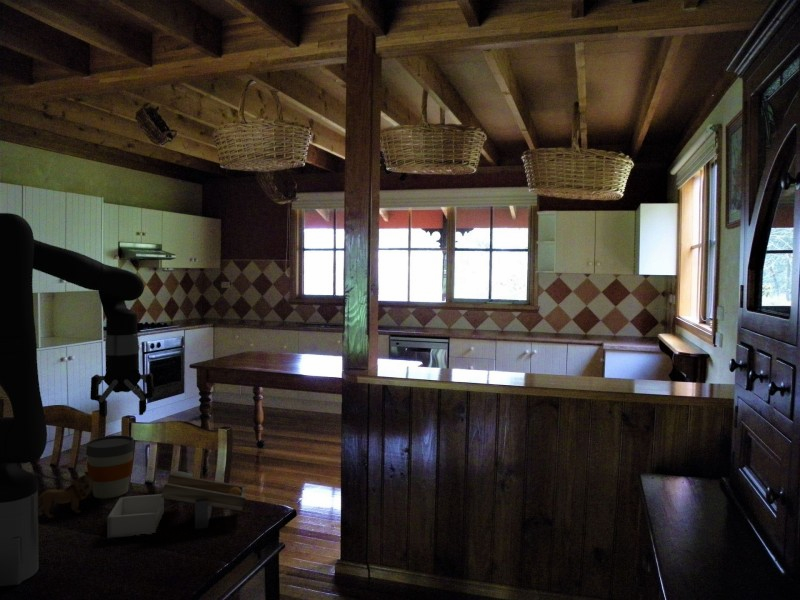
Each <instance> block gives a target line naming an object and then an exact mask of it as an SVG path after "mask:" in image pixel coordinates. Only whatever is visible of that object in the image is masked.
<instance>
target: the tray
mask: <svg viewBox="0 0 800 600" xmlns="http://www.w3.org/2000/svg"><path fill="white" fill-rule="evenodd" d="M161 496H162V493H160V494H159V493H158V494H147V495H144V494H143V495H134V496H133V495H131V496H119V499H118V500H117V502H116V504H115V505H114V507H113V508H112V510H111V511H110V513H109V515H108V516H107V519H106V520H107V521H106V523H107V531H106V532H107V537H106V538H107V539H110V538H111V539H113V538H122V537H123V538H124V537H125V538H126V537H132V536H133V537H134V535H136V536H141V535H140V534H147V535H153V534H152V533H155V534H156V532H157V530H156V529H158V528H157V527H159V525H160V523H159V522H161V521H162V518H163V516H162V515H164V513H165V498H161ZM160 520H161V521H160ZM158 524H159V525H158Z"/></svg>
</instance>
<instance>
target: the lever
mask: <svg viewBox="0 0 800 600" xmlns="http://www.w3.org/2000/svg"><path fill="white" fill-rule="evenodd" d="M233 487H238V488H240V490H241V496H240V495H234V494H229V491H230V489H231V488H233ZM162 490H163V491H162V492H161V494H162V496H161V498H164V499H166V500H173V501H181V502H186V503H192V504H195V500H203V499H208V505H209V506H212V507H216V508H222V509H227V510H234V511H235V510H236V511H240V512H242V511H243V507H244V504H245V502H246V501H245V500H246V493H247V492H246V491H247V486H246V485H240V484H233V483H228V482H222V481H217V480H212V479H211V480H210V479H205V478H199V477H194V473H190V472H185V471H178V470H174V472H173V473H171V472H170V473H169V475H168V478H167V482H165V483H164V485H163V489H162Z"/></svg>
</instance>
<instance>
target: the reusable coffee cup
mask: <svg viewBox="0 0 800 600" xmlns="http://www.w3.org/2000/svg"><path fill="white" fill-rule="evenodd" d="M135 448H136V447H135V439H134V437H133V436H130V435H108V436H101V437H97V438H94V439H91V440H89V441H88V442H87V444H86V451H85V455H86V456H87V461H88V462H86V467H87V473H88V474H87V475H90V476H92V477H93V488H92V496H93V497H94V498H96V499H111V498H112V499H113V498H116V497H121V496H123V495H124V494H126V493H128V491H129V485H130V484H129V483H130V478H131V475H132V474H133V467H134V466H133V465H134V455H133V454H134V450H135Z"/></svg>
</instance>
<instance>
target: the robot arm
mask: <svg viewBox="0 0 800 600" xmlns="http://www.w3.org/2000/svg"><path fill="white" fill-rule="evenodd" d="M34 270H36V271H39V272H40V273H45V274H47V275H49V276H52V277H55V278H57V279H60V280H62V281H65V282H68V283H70V284H73V285H76V286H78V287H80V288H81V287H82V288H84V289H87V290H90V291H98V296H99V299H100V304H101V306H102V311H103V312H104V315H105V321H106V322H105V326H106V327H105V331H106V335H105V344H104V347H105V348H104V349H105V351H104V352H105V353H104V354H105V375H99V374H95V375H93V376H91V378H90V379H91V380H90V398H89V399H90V400H92V401H97V402H98V413H99V415H101V417H103V418H105V417H107V416H108V400H107V398H109V396H110V395H111V394H112V392H114V394H115V393H117V394H118V393H121V392H122V393H129V392H132V393H133V395H135V396H136V397H138V399H139V400H138V415H139V416H143V415H144V414H145V413H146V411H147V400H148V399H151V398H152V397H153V396H155V385H154V384H155V383H154V374H153V373H152V372H149V373H147V374H146V373H145V374H141V373H140V353H139V352H140V343H139V336H138V315H137V313H136V312H135V311H133V310H131V309H130V308H128V307H127V304H126V302H131V301H132V302H133V301H135V300H138V299H139V298H140V297H142V295H143V293H144V292H145V291H144V290H145V284H144V281H143V279H142V278H141V277H140V276H139V275H137V274H136V273H134V272H132V271H129V270H126V269H123V268H119V267H116V266H112V265H108V264H105V263H103V262H101V261H100V260H96V259H95V258H92V257H90V256H88V255H85V254H83V253H80V252H77V251H74V250H71V249H67V248H63V247H60V246H56V245H52V244H49V243H46V242H43V241H40V240H37V239H34V232H33V229H32V227H31V225H30V224H29V222H28V221H27V220H26V219H25V218H24V217H22V216H20V215H19V214H16V213H11V212H10V213H9V212H0V387H1V388H2V390H3V392H4V393H5V394H6V396H7V397H8V400H9V402H10V405H11V410H12V414H13V417H12V416H11V417H10V416H7V417H6V416H4V417H2V416H0V587H8V586H17V585H21V584H22V582H24V581H26V580H28V579H30V578H32V577H33V576H35V574H36V573H38V571H39V568H40V567H39V565H40V564H39V515H38V506H39V505H38V498H39V481H38V477H37V476H36V475H34V474H33V473H31V472H29V471H28V470H27V471H26V470H24V469H22V468H21V467H20V466H19V465H18V464H29V463H34V462H36V461H38V460H39V459H40V458H41V457H42V456H43V454H44V453H45V450H46V446H47V441H48V429H47V428H48V427H47V422H46V416H45V412H44V405H43V401H42V395H41V394H42V393H41V388H40V380H39V379H40V378H39V369H38V368H39V367H38V348H37V347H38V346H37V345H38V344H37V334H36V333H37V332H36V330H37V329H36V324H35V322H36V321H35V311H34V292H33V291H34V290H33V271H34ZM141 380H142V381H143V383H145V384H146V392H144V390H143V389H142V387H141V386H140V385H139V382H140V381H141ZM103 382H104V383H105V384H106V385H107V388H106V389H105V390H104V391H103V393H102V394H99V391H100V390H99V389H100V388H99V387H100V385H101V384H102V383H103Z"/></svg>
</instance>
